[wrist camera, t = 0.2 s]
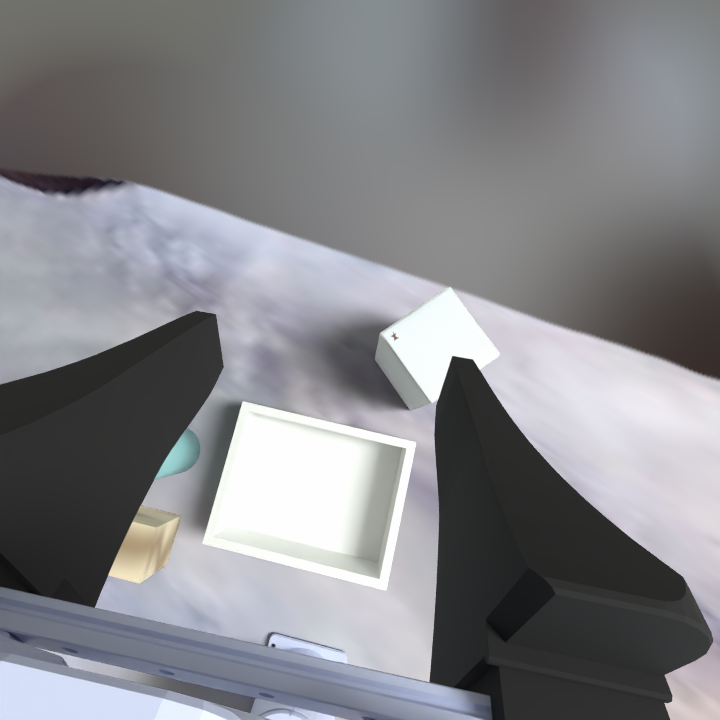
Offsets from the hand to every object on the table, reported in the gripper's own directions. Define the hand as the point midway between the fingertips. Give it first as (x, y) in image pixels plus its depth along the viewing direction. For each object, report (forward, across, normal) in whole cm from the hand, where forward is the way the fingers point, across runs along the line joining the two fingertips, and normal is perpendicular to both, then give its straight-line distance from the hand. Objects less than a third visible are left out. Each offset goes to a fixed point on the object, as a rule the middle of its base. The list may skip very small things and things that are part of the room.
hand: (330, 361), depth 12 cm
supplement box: (+26, -6, +19) cm, 33 cm away
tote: (+15, +3, +29) cm, 33 cm away
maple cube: (+9, +19, +34) cm, 40 cm away
